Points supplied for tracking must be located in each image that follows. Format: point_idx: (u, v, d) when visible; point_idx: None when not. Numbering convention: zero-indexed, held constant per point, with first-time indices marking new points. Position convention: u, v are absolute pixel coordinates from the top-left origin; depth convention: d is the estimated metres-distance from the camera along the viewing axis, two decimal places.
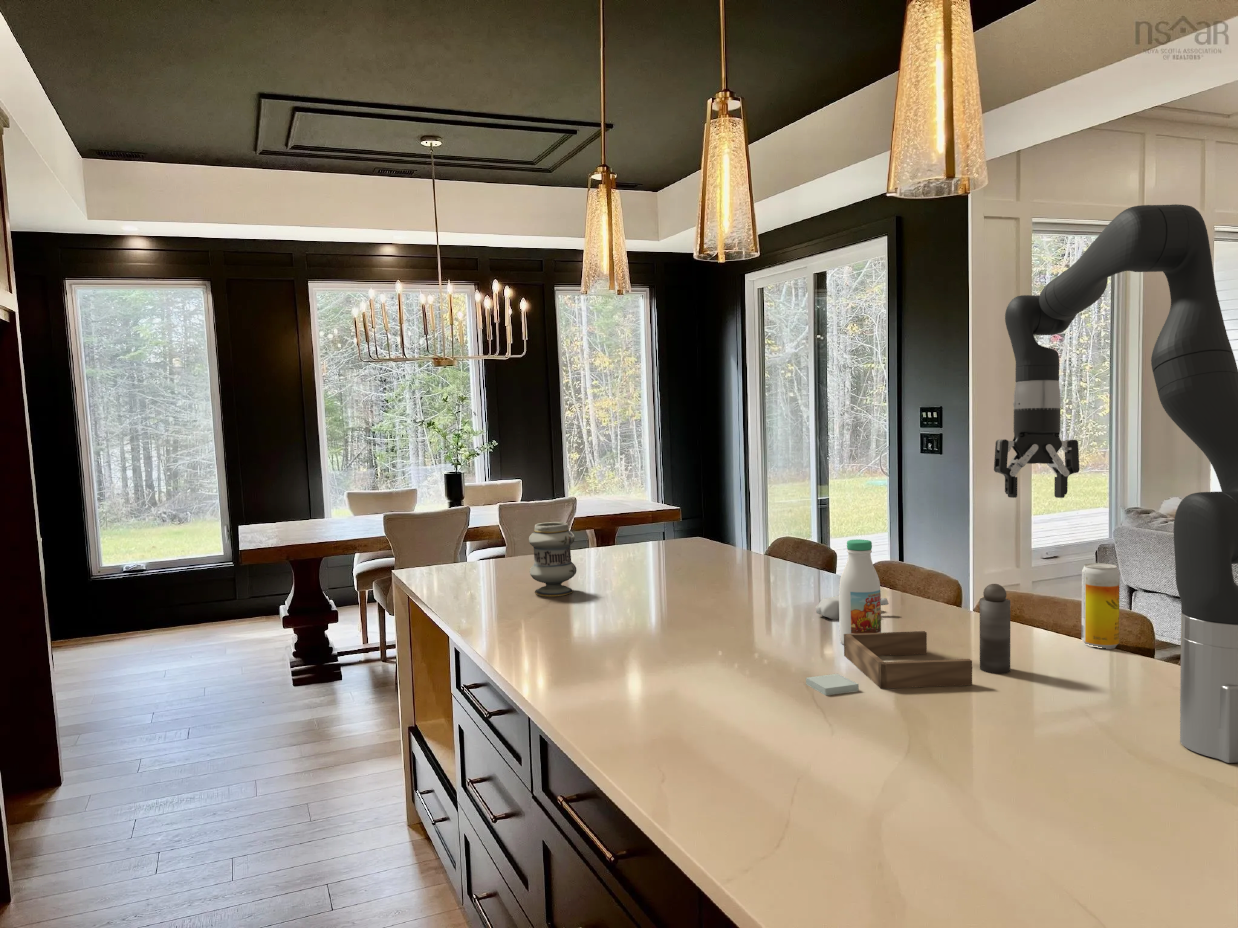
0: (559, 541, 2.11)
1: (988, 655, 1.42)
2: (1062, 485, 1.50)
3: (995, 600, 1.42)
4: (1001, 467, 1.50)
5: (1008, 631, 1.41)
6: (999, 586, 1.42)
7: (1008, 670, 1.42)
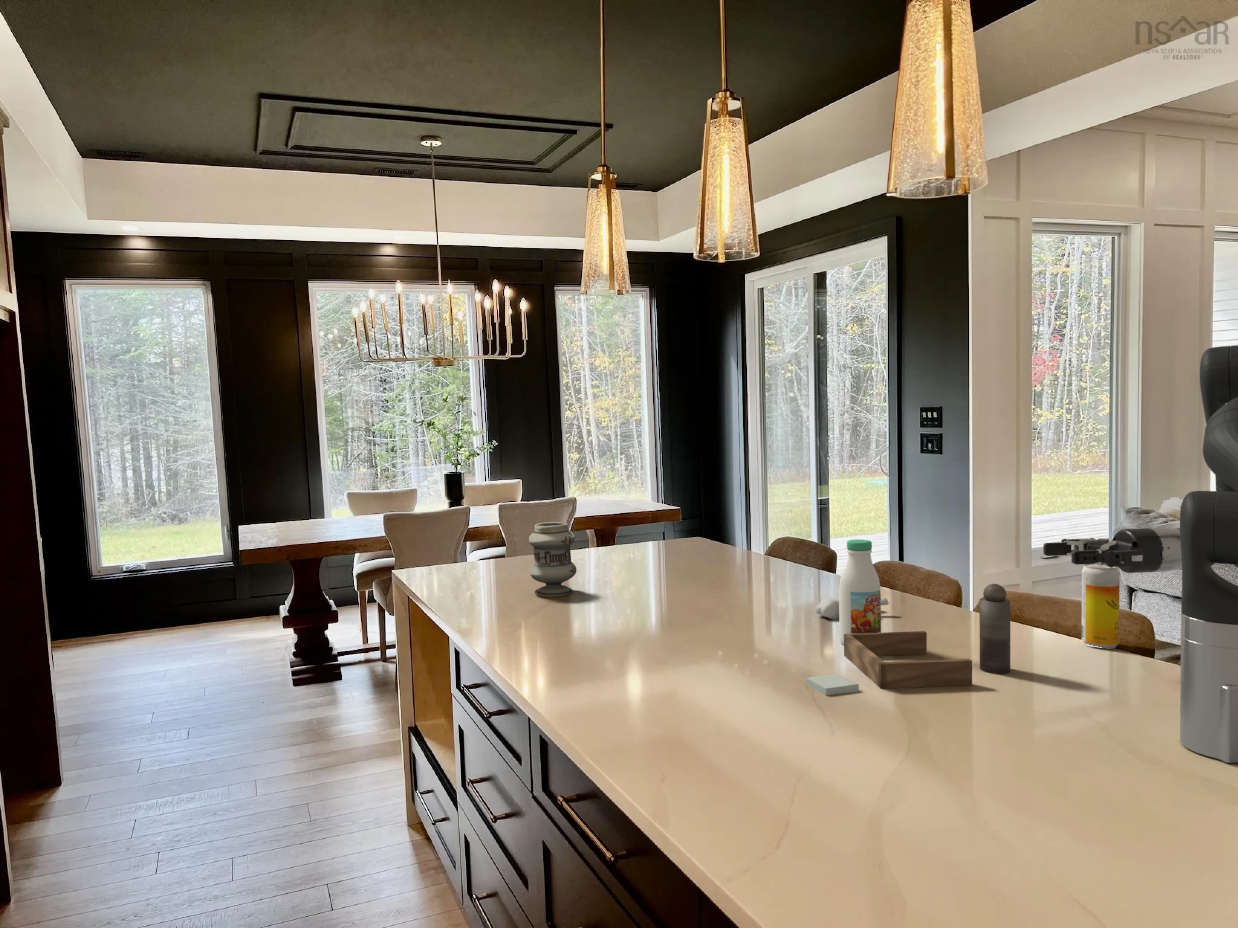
0: (559, 541, 2.11)
1: (988, 655, 1.42)
2: (1085, 550, 1.39)
3: (995, 600, 1.42)
4: (1066, 539, 1.50)
5: (1008, 631, 1.41)
6: (999, 586, 1.42)
7: (1008, 670, 1.42)
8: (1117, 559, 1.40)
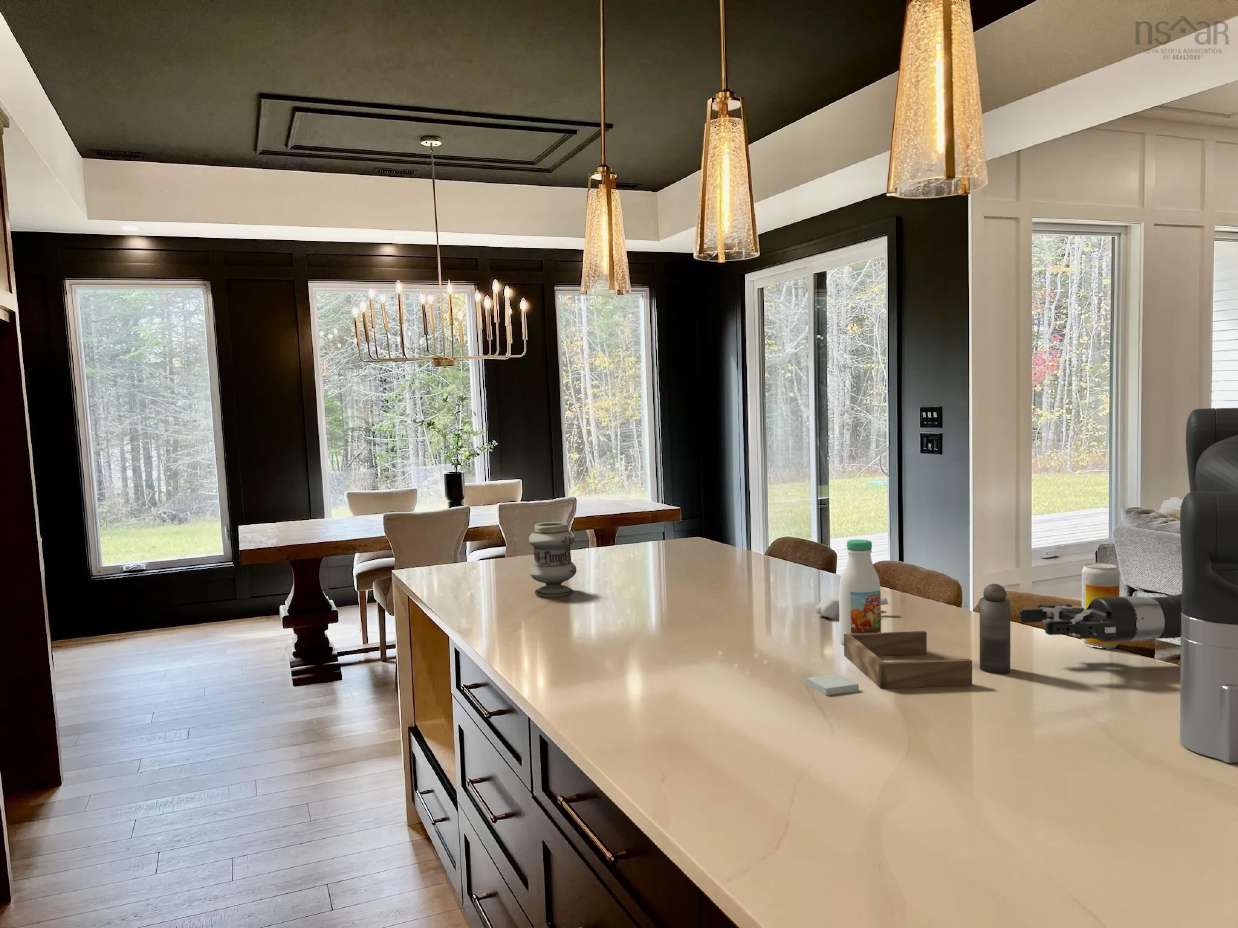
0: (559, 541, 2.11)
1: (988, 655, 1.42)
2: (1059, 620, 1.39)
3: (995, 600, 1.42)
4: None
5: (1008, 631, 1.41)
6: (999, 586, 1.42)
7: (1008, 670, 1.42)
8: (1091, 629, 1.41)
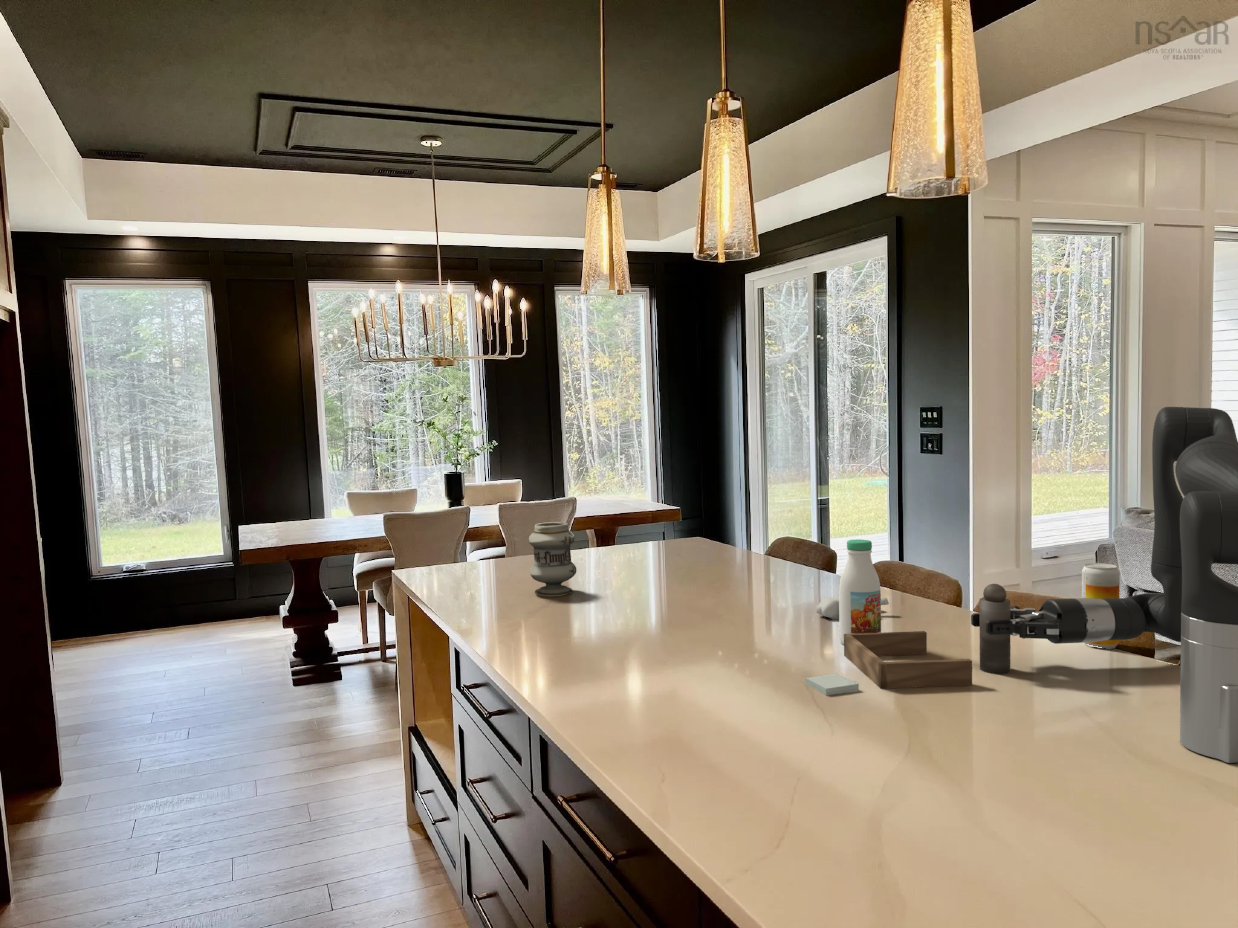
0: (559, 541, 2.11)
1: (988, 655, 1.42)
2: (999, 620, 1.41)
3: (995, 600, 1.42)
4: None
5: None
6: (999, 586, 1.42)
7: (1008, 670, 1.42)
8: None
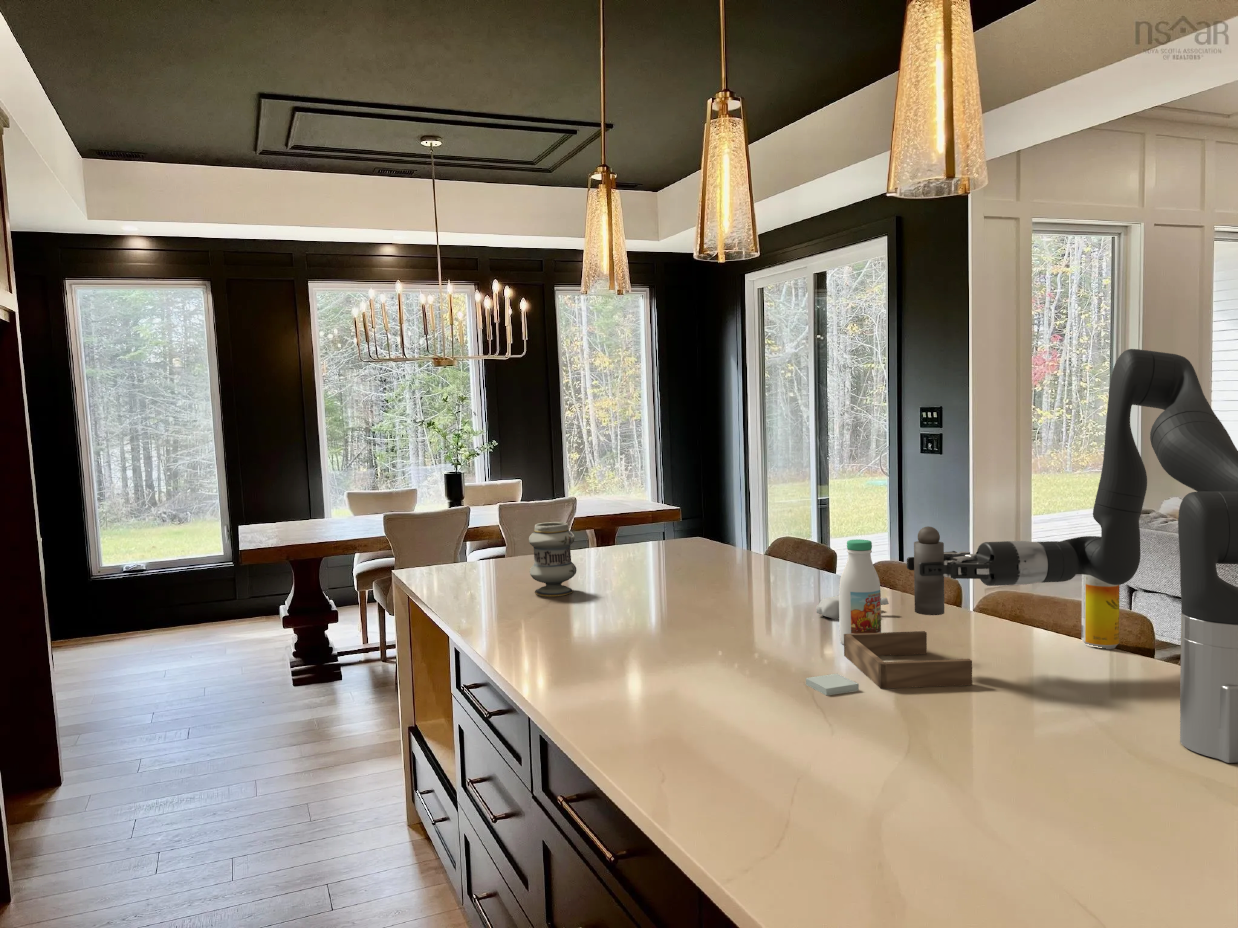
0: (559, 541, 2.11)
1: (922, 597, 1.43)
2: (931, 562, 1.42)
3: (928, 542, 1.42)
4: None
5: None
6: (932, 528, 1.43)
7: (941, 612, 1.43)
8: None
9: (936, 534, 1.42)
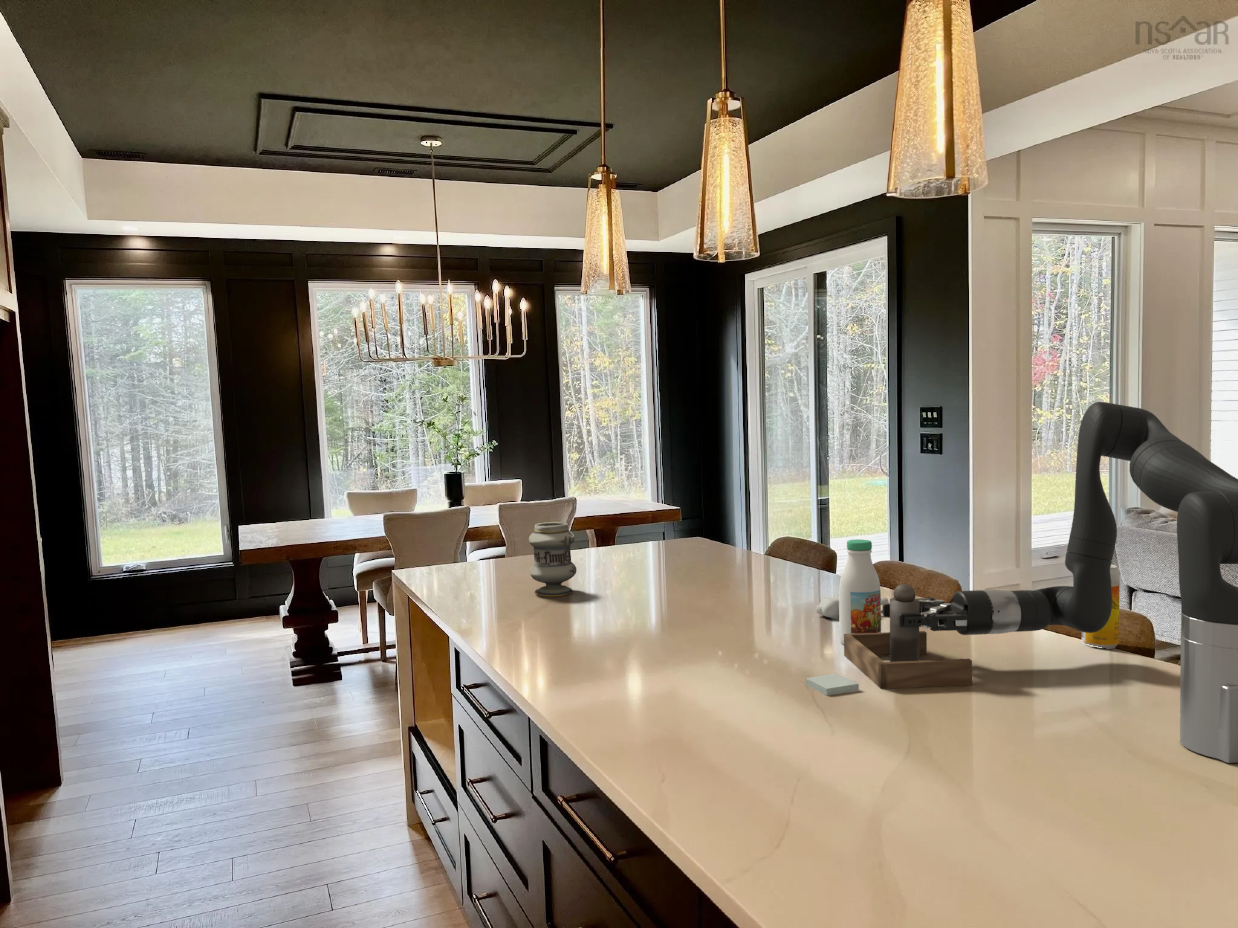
0: (559, 541, 2.11)
1: (897, 654, 1.43)
2: (911, 613, 1.41)
3: (904, 600, 1.43)
4: None
5: (917, 630, 1.43)
6: (908, 586, 1.44)
7: None
8: None
9: (912, 592, 1.43)
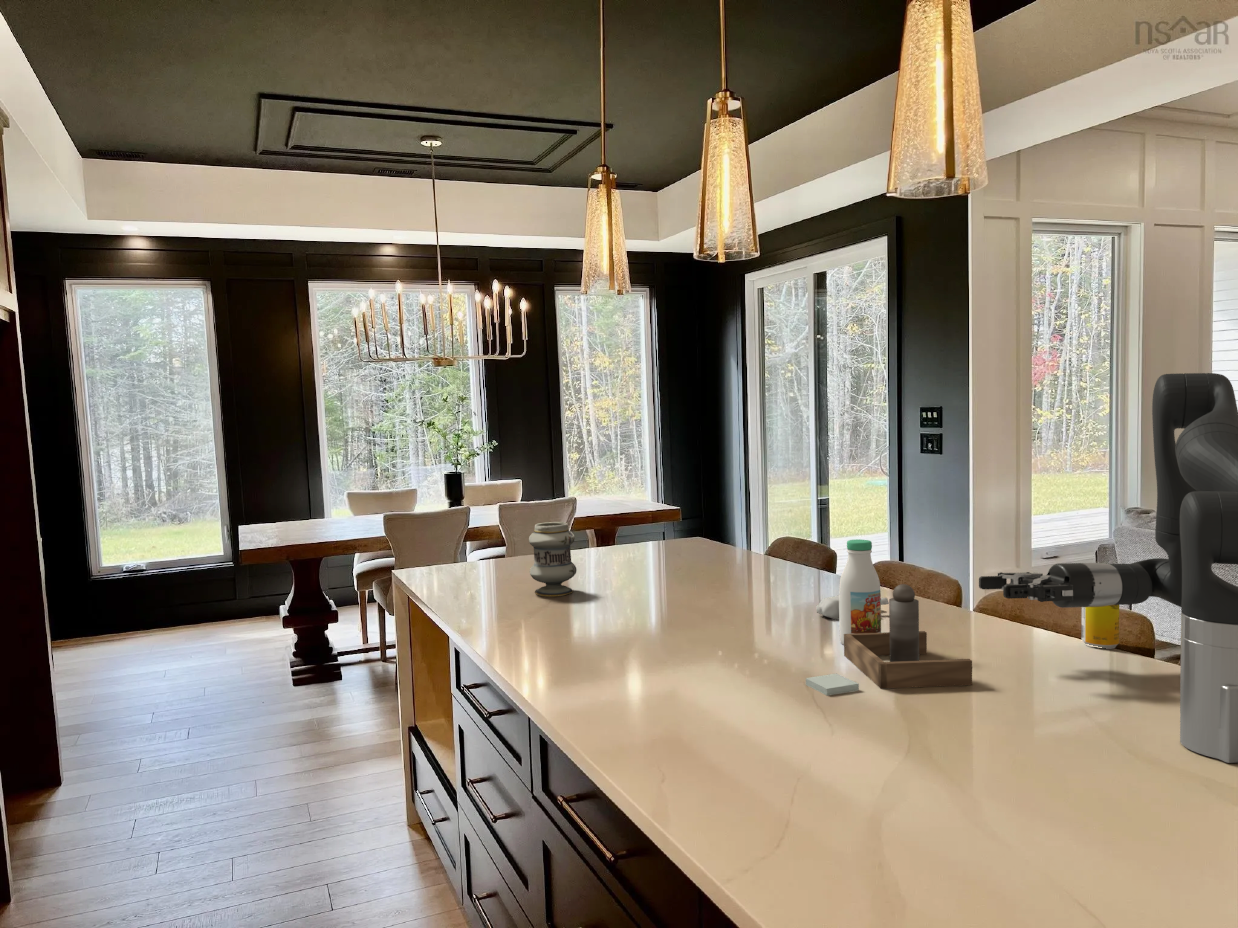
0: (559, 541, 2.11)
1: (897, 654, 1.43)
2: (1017, 584, 1.39)
3: (903, 600, 1.43)
4: None
5: (916, 631, 1.43)
6: (907, 586, 1.44)
7: None
8: (1049, 594, 1.40)
9: (911, 592, 1.43)
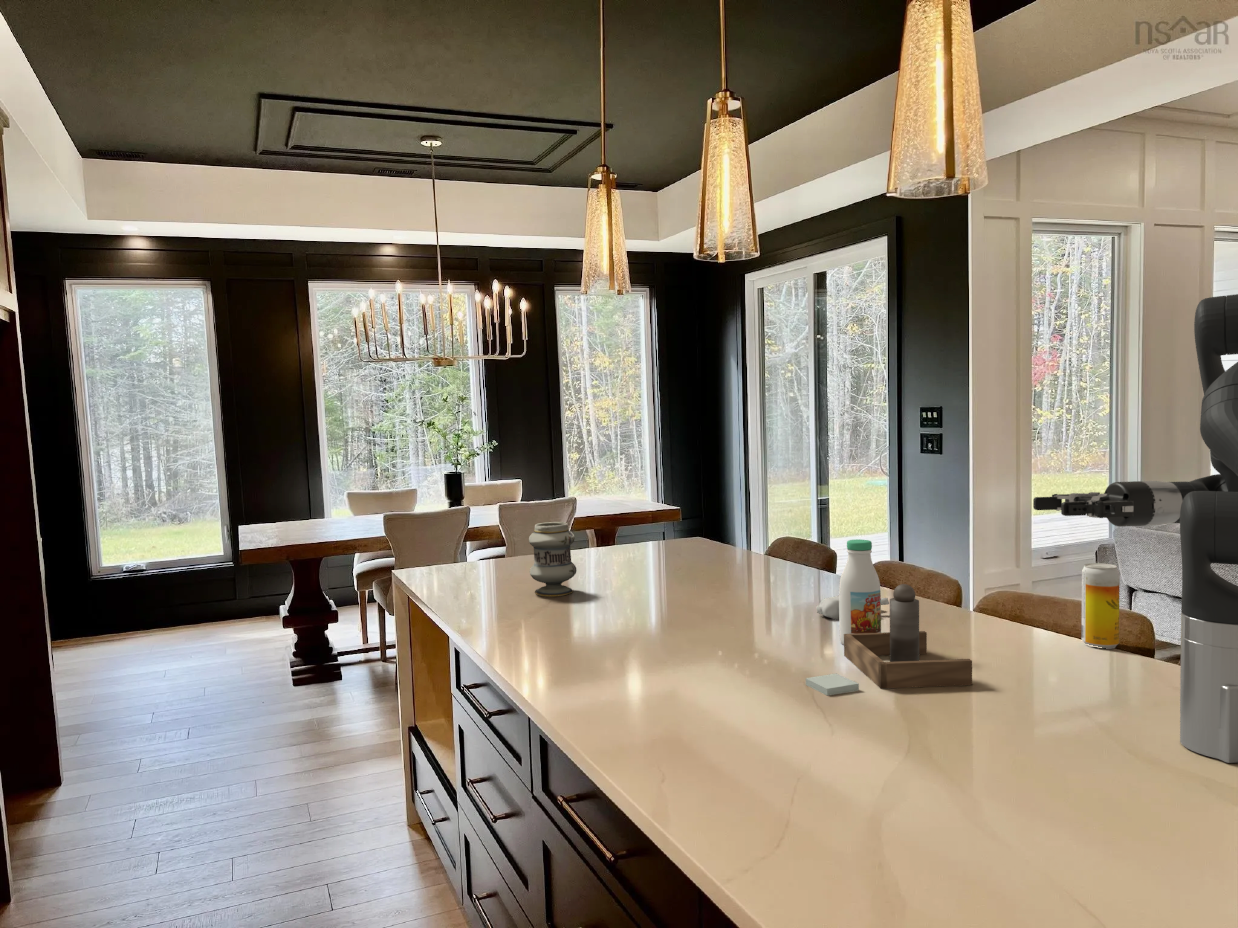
0: (559, 541, 2.11)
1: (897, 654, 1.43)
2: (1075, 501, 1.36)
3: (903, 600, 1.43)
4: (1056, 494, 1.48)
5: (917, 631, 1.43)
6: (908, 586, 1.44)
7: None
8: (1108, 511, 1.38)
9: (911, 592, 1.43)
